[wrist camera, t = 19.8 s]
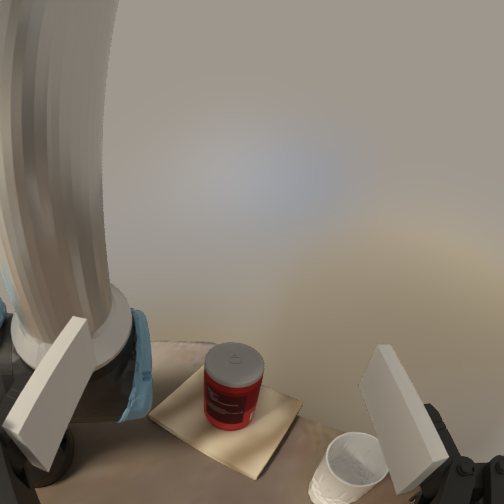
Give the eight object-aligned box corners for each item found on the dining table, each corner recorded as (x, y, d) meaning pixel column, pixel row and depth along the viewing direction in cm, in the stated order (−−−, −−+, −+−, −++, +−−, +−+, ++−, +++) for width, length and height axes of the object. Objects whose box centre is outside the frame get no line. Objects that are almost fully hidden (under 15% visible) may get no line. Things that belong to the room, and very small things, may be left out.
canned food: (243, 388, 46) (251, 338, 42) (262, 426, 39) (275, 377, 35) (197, 397, 43) (197, 345, 39) (212, 437, 37) (214, 389, 32)
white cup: (352, 465, 34) (380, 428, 30) (363, 509, 27) (398, 479, 23) (300, 470, 34) (320, 433, 30) (306, 517, 26) (332, 491, 22)
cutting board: (149, 418, 39) (148, 413, 38) (209, 364, 52) (209, 359, 52) (255, 480, 32) (256, 477, 31) (301, 406, 45) (303, 402, 45)
